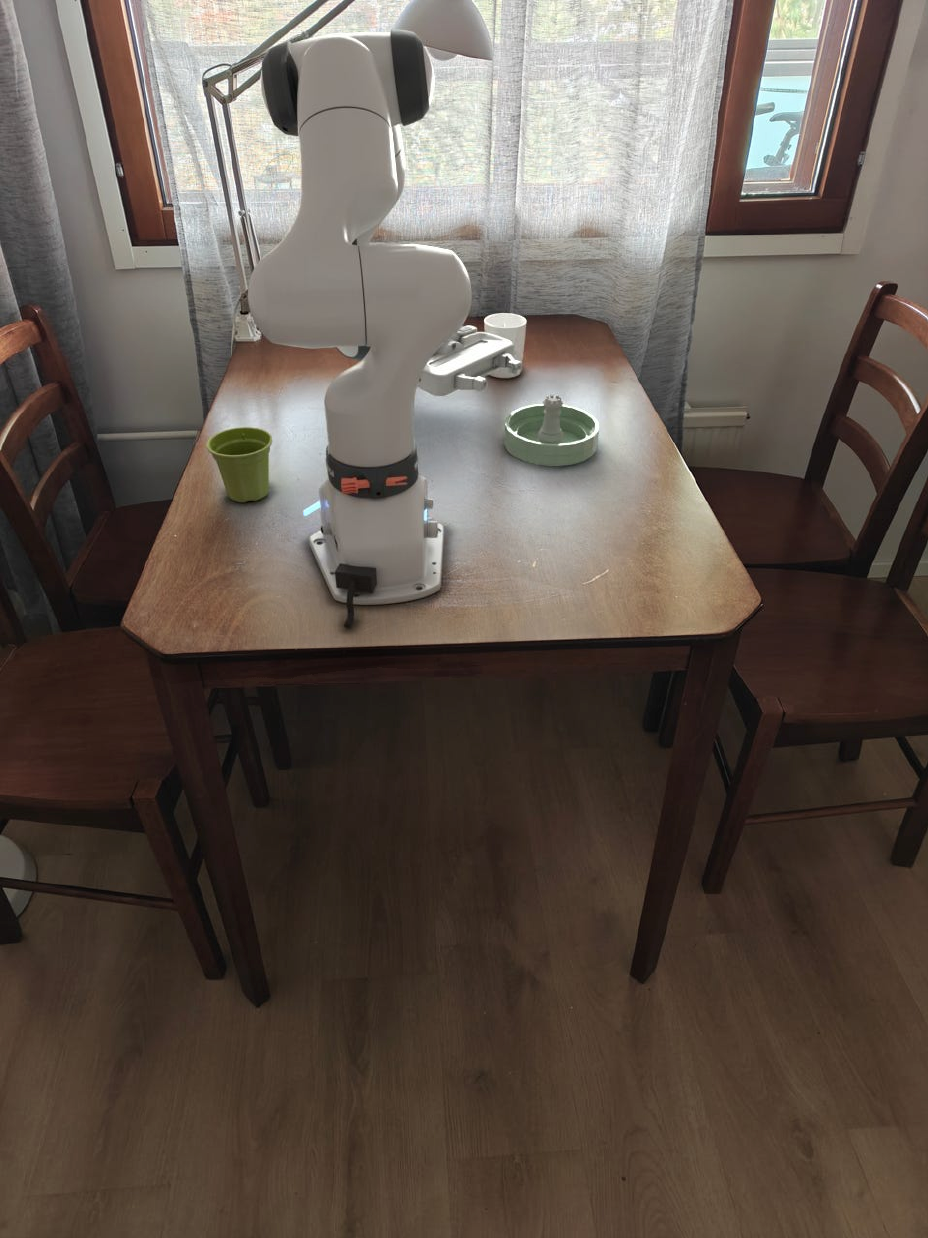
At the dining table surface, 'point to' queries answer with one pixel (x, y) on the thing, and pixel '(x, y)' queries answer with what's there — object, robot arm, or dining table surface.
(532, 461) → the bowl
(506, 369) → the white cup
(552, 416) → the rook chess piece
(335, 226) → the robot arm
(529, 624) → the dining table surface
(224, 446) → the plant pot
